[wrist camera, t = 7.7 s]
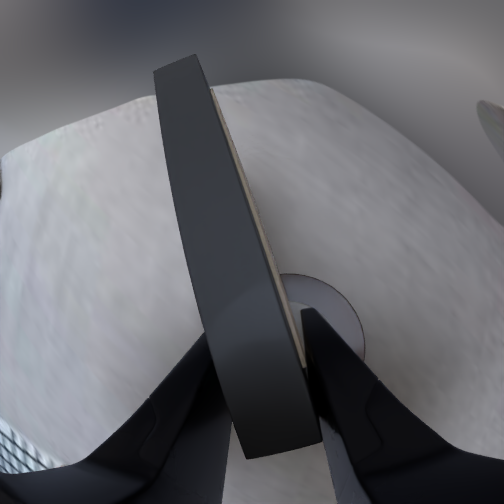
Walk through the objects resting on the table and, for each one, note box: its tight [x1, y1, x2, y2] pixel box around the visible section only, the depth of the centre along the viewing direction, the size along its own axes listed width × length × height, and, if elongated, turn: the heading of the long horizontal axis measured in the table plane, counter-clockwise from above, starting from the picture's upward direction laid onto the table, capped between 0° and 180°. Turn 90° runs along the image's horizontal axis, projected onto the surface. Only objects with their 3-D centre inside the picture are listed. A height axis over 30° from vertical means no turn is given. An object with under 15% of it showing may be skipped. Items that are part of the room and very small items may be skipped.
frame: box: [153, 54, 331, 459], centre depth 11 cm, size 12×5×9 cm, turn 17°
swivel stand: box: [280, 274, 365, 362], centre depth 14 cm, size 8×8×2 cm
